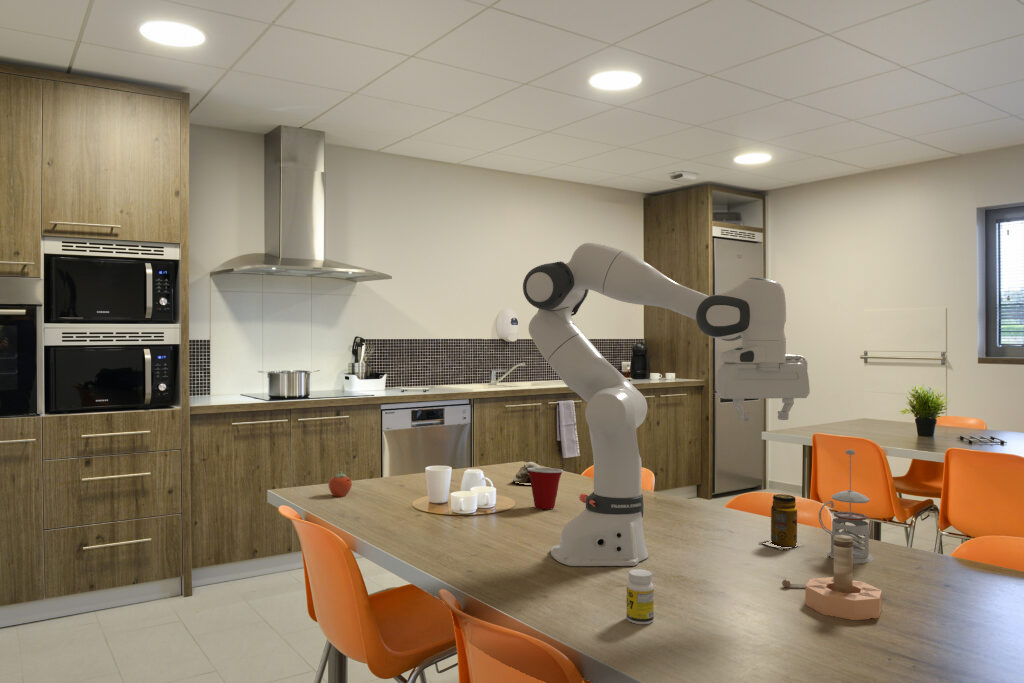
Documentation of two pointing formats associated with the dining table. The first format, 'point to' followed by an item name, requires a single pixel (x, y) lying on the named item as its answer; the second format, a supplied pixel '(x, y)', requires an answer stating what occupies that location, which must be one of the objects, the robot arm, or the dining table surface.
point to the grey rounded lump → (524, 473)
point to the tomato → (340, 485)
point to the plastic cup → (544, 486)
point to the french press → (854, 518)
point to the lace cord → (787, 584)
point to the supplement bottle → (640, 597)
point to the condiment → (783, 521)
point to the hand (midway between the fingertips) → (763, 420)
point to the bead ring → (844, 599)
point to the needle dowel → (843, 564)
